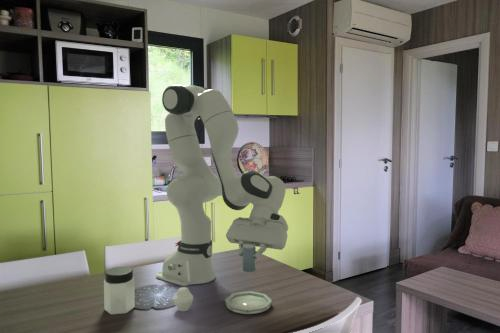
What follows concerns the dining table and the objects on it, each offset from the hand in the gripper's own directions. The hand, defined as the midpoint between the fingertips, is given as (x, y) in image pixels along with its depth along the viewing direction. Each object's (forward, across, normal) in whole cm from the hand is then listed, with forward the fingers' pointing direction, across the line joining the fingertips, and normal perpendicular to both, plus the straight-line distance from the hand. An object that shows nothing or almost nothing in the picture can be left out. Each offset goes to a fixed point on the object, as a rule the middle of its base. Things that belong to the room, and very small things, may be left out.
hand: (248, 256), depth 124 cm
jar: (+26, -34, -4) cm, 43 cm away
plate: (+11, 0, +12) cm, 16 cm away
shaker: (+3, 0, +4) cm, 4 cm away
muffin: (+20, -16, +3) cm, 26 cm away
